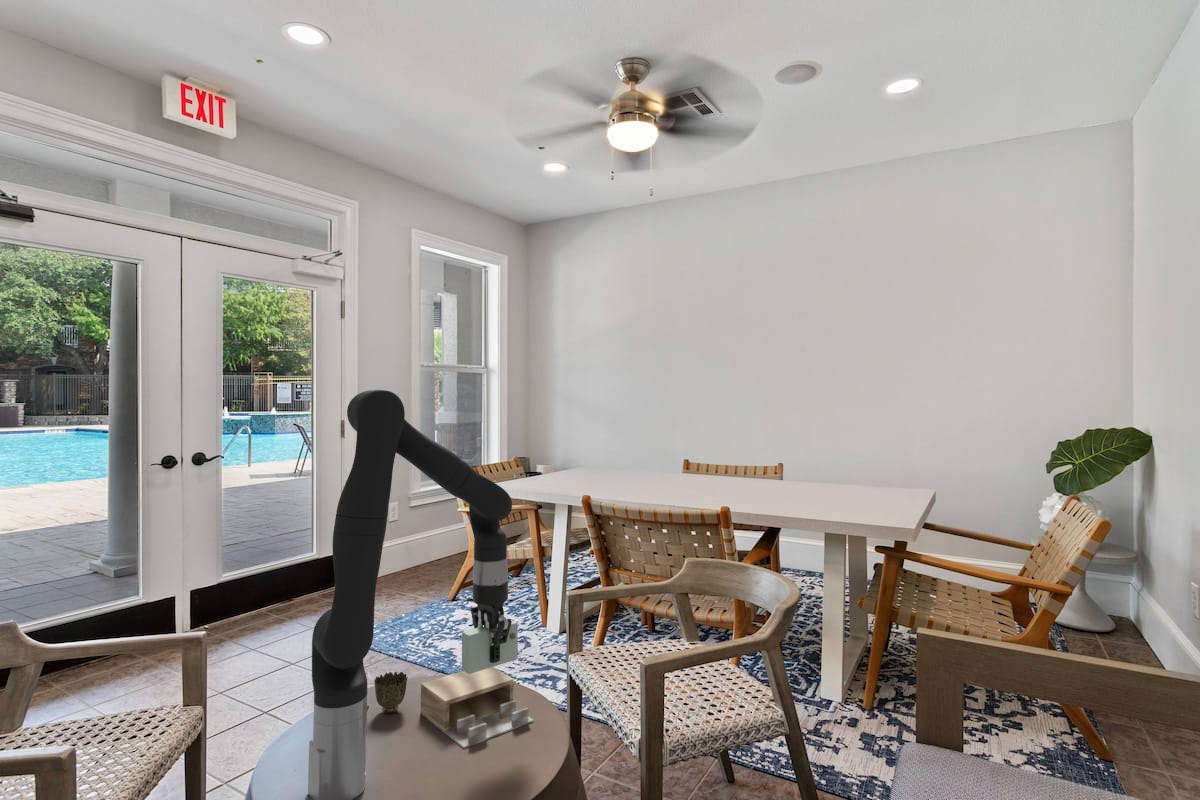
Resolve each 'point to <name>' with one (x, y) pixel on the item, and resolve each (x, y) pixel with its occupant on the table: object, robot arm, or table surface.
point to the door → (486, 649)
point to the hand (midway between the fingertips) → (490, 658)
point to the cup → (390, 691)
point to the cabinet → (472, 705)
